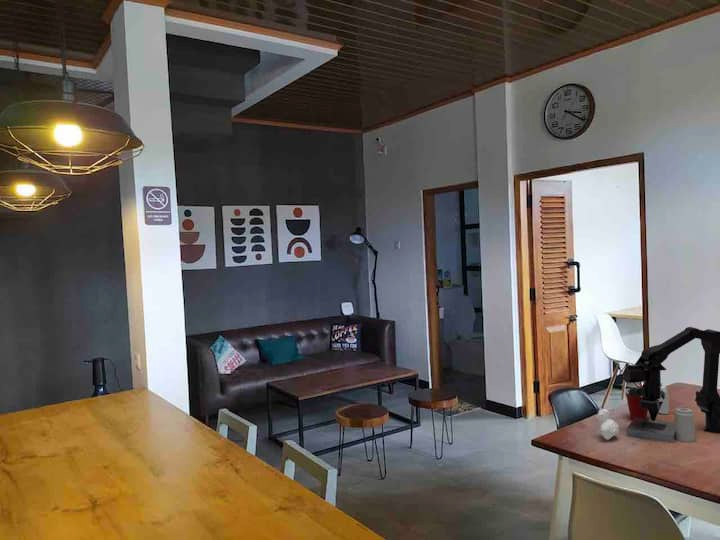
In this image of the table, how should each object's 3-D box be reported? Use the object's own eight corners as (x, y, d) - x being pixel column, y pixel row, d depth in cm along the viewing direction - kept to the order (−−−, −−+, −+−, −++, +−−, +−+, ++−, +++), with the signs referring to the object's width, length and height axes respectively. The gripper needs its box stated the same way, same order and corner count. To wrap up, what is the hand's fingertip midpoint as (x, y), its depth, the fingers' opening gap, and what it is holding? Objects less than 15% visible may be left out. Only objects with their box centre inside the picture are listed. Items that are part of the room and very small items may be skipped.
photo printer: (647, 407, 247) (646, 380, 246) (656, 407, 247) (655, 380, 246) (661, 414, 236) (660, 386, 236) (670, 414, 237) (670, 386, 236)
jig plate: (635, 424, 226) (635, 417, 225) (679, 431, 216) (679, 423, 216) (626, 435, 213) (626, 428, 213) (673, 443, 203) (673, 435, 203)
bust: (615, 444, 204) (615, 415, 204) (594, 441, 209) (593, 412, 208) (621, 435, 214) (620, 406, 214) (600, 431, 219) (600, 404, 218)
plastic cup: (652, 424, 224) (652, 395, 224) (623, 421, 230) (622, 393, 230) (654, 417, 234) (653, 389, 233) (626, 414, 239) (625, 387, 239)
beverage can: (693, 438, 208) (692, 407, 208) (696, 444, 202) (695, 412, 202) (674, 437, 211) (673, 406, 210) (676, 442, 205) (675, 411, 204)
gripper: (634, 374, 226) (635, 411, 226) (624, 384, 211) (625, 424, 212) (665, 377, 219) (665, 415, 220) (657, 387, 204) (657, 428, 205)
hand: (653, 420), depth 214 cm, fingers closed
